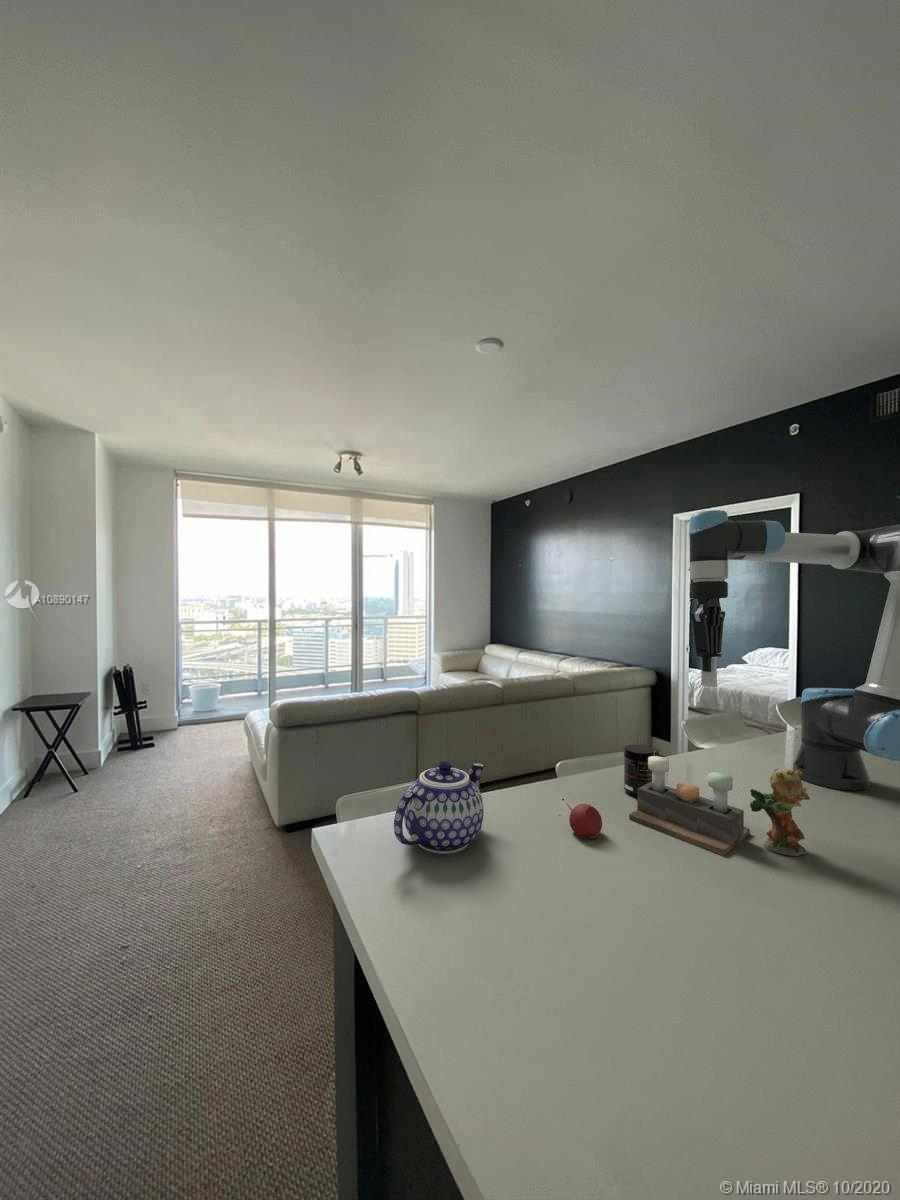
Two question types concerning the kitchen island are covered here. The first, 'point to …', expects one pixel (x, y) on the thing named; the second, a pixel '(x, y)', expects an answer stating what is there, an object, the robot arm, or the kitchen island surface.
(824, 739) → the robot arm
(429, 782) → the teapot
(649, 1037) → the kitchen island surface
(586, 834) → the fruit
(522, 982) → the kitchen island surface
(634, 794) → the supplement container
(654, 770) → the cream button
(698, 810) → the button board
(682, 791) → the orange capped peg
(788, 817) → the figurine
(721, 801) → the sage button
